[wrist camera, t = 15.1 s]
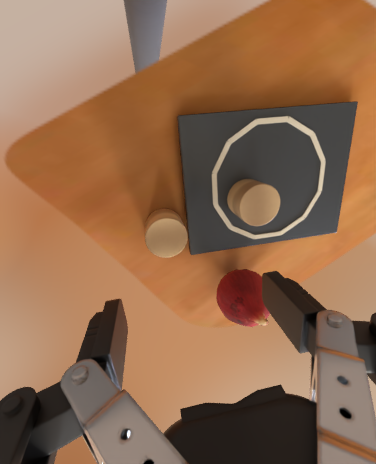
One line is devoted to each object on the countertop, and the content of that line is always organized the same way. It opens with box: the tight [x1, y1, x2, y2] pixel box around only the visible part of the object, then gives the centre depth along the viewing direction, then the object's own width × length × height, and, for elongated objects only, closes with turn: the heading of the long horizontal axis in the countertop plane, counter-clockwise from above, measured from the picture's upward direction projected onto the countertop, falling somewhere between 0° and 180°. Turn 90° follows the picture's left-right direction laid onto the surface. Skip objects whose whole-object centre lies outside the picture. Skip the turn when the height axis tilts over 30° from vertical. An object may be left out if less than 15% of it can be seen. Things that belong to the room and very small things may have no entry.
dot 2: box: [227, 179, 280, 226], centre depth 23 cm, size 4×4×4 cm
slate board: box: [177, 102, 358, 255], centre depth 24 cm, size 14×18×1 cm
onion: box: [217, 269, 270, 327], centre depth 25 cm, size 6×6×8 cm
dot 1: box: [145, 209, 188, 258], centre depth 23 cm, size 4×4×4 cm
